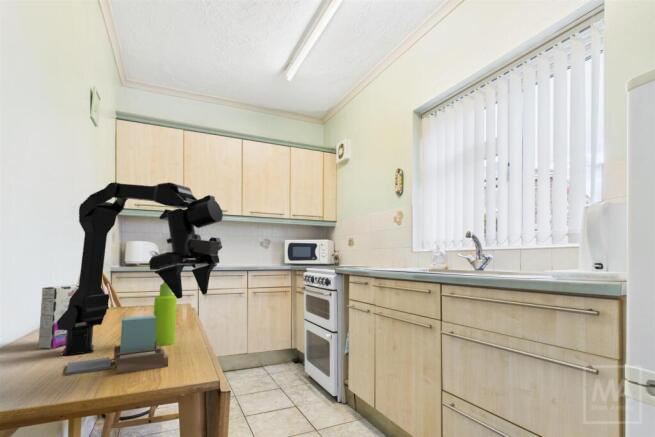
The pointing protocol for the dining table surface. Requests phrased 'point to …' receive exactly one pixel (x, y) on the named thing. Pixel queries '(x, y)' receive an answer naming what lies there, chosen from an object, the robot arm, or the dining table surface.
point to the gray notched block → (137, 354)
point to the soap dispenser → (165, 316)
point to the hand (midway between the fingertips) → (193, 296)
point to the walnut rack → (140, 360)
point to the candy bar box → (54, 315)
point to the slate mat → (87, 366)
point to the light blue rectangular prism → (138, 333)
